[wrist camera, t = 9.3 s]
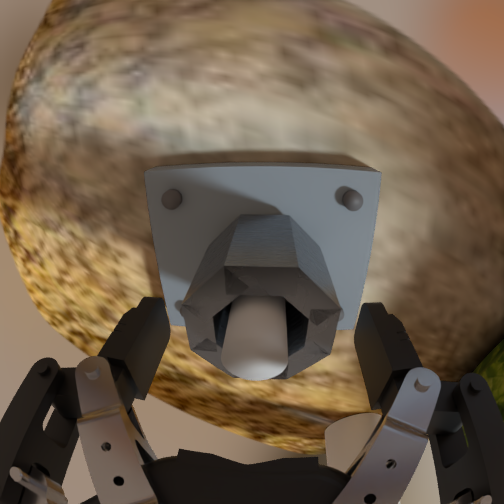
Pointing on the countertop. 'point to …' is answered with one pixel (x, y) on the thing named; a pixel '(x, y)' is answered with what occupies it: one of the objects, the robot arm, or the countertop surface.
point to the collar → (264, 288)
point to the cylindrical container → (348, 439)
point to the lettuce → (493, 375)
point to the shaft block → (262, 203)
